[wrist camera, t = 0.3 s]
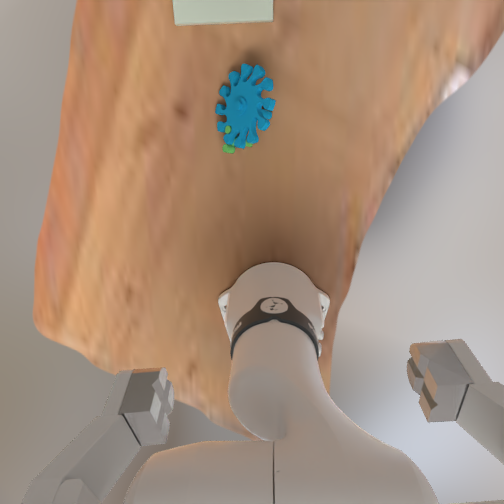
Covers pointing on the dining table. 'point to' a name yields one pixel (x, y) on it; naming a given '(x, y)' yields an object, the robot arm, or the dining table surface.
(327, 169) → the dining table surface
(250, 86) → the gear
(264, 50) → the dining table surface
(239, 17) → the socket board
